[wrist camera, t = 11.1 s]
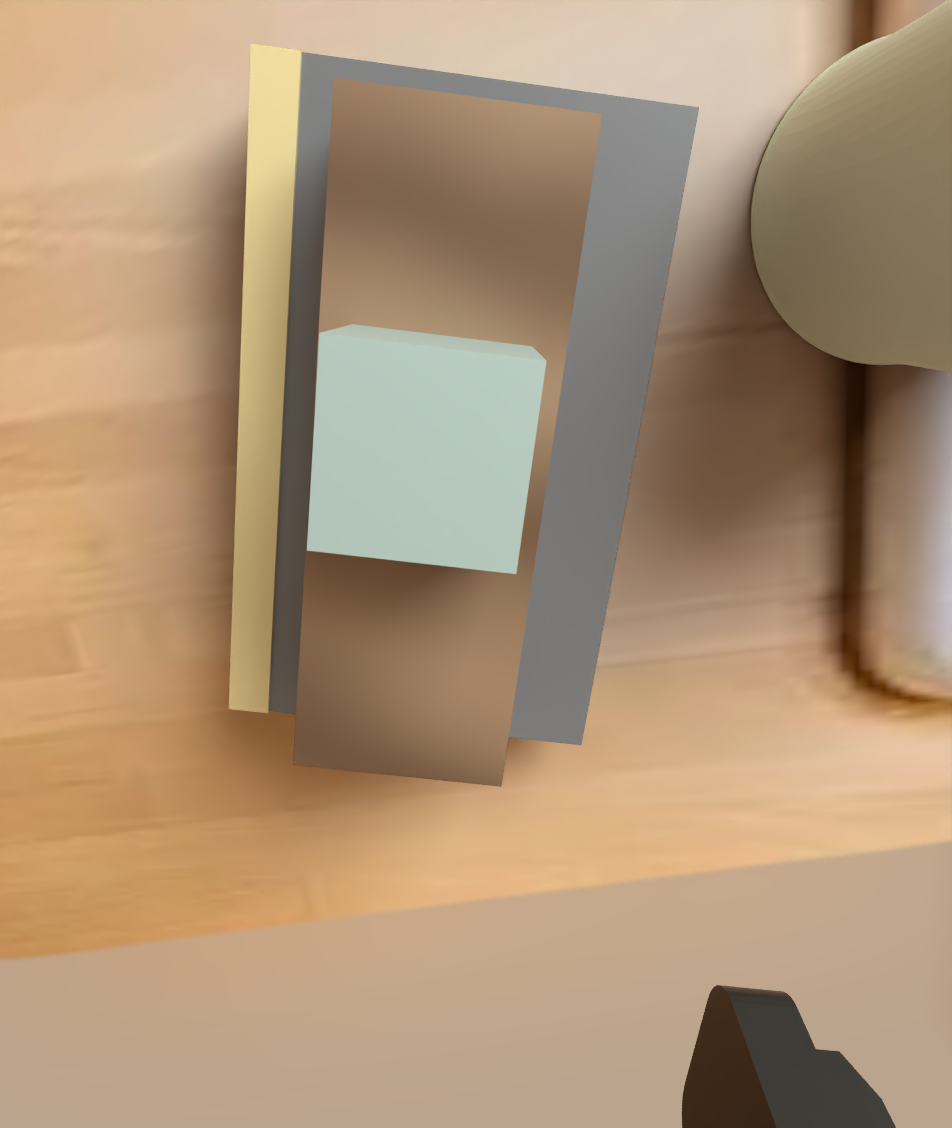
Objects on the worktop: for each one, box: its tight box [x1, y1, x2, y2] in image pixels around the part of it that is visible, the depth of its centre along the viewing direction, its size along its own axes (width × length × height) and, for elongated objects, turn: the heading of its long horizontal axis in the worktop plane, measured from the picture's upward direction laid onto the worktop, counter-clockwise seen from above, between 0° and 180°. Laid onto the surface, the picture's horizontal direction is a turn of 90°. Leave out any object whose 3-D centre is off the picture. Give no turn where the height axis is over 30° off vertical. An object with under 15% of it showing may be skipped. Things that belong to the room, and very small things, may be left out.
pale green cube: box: [307, 324, 546, 574], centre depth 17 cm, size 4×4×4 cm
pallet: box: [293, 77, 602, 786], centre depth 21 cm, size 16×6×4 cm, turn 173°
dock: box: [229, 44, 699, 745], centre depth 25 cm, size 18×11×4 cm, turn 173°
